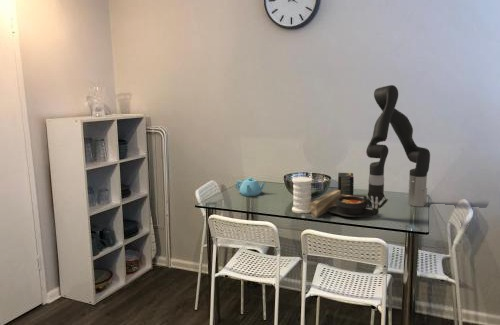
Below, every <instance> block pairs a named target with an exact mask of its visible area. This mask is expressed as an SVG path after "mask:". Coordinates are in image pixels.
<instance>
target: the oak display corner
mask: <svg viewBox="0 0 500 325" xmlns="http://www.w3.org/2000/svg"><path fill="white" fill-rule="evenodd" d="M340 194H341V190H338V189H334V190H332V191H330V192H329V193H326V194H325V195H322V196H321V197H319V198H317V199H315V200H313V201H311V212H310V213H311V215H310V216H312V217H311V218H315V217H316V218H319V217H320V216H322V215H323V214H325V213H327V212H329V211H328V209H329V208H330V207H333V206H337V205H336V201H337V199H338V198H340V197H343V196H350V195H344V194H342V195H340ZM356 197H358V196H356ZM360 197H361V198H364V196H360ZM367 207H368V205H367V206H366V208H367ZM316 218H315V219H316Z"/></svg>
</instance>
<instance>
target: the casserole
mask: <svg viewBox="0 0 500 325" xmlns="http://www.w3.org/2000/svg"><path fill="white" fill-rule="evenodd" d="M361 197H362V196H357V197H356V196H355V195H353V196H343V197H340V198H338V199H337V201H336V205H337V206H333V207H330V208H329V209H328V211H327V212H329V213H331V214H333V215H338V216H341V217H346V218H350V219H351V218H352V219H353V218H354V219H355V218H363V217H365V218H366V217H367V218H370V217H372V216H374V215H373V214H372V209H371V208H367V207H368V206H369V205H368V204H367V202H366V201H365V199H364V198H361ZM366 206H367V207H366Z"/></svg>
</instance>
